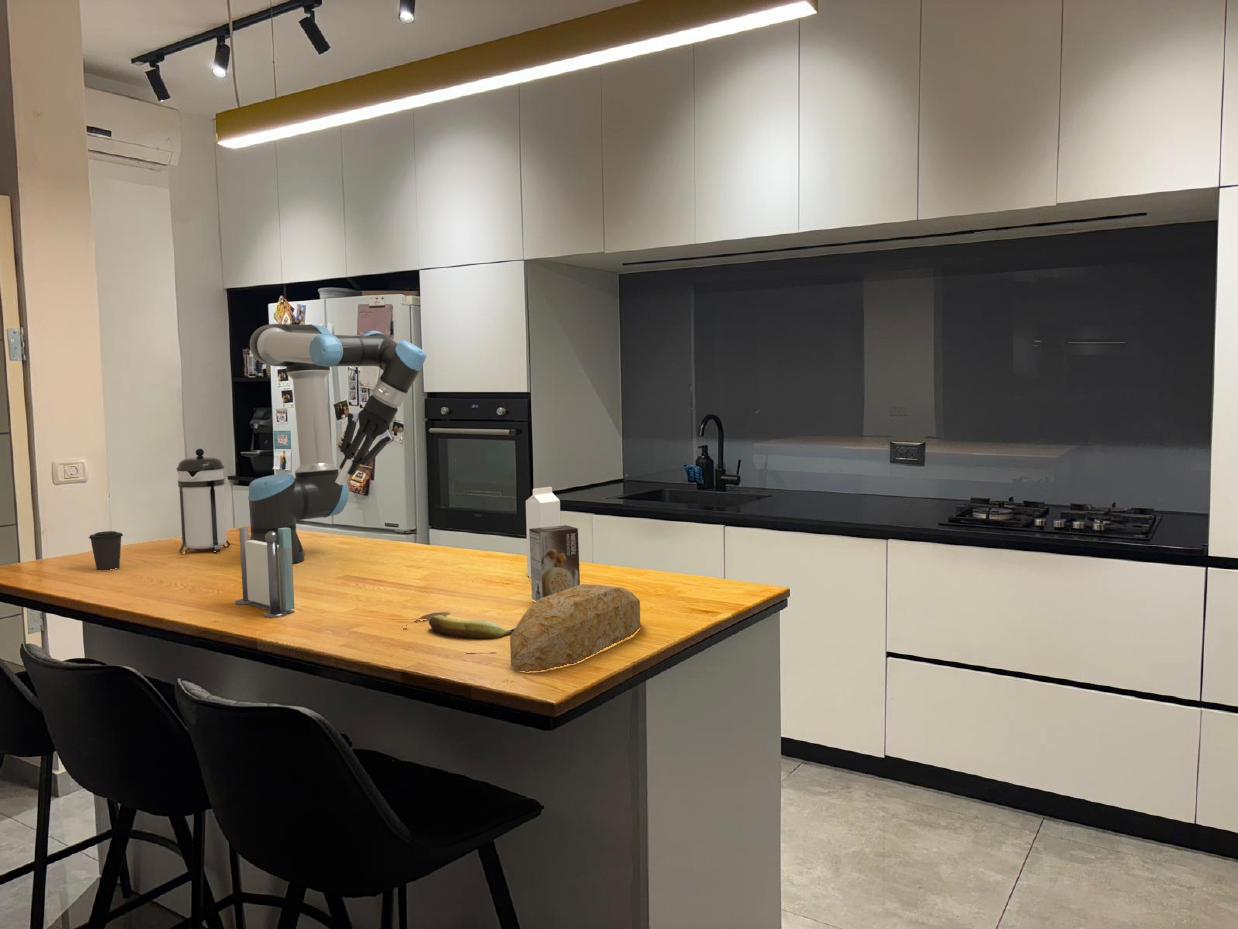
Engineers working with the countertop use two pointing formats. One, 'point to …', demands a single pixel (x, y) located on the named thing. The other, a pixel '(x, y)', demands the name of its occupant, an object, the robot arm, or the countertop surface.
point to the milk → (541, 514)
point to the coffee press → (202, 503)
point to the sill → (258, 605)
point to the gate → (266, 569)
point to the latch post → (273, 575)
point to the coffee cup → (106, 549)
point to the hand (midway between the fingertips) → (339, 483)
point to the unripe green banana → (463, 627)
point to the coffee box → (553, 560)
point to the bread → (573, 626)
